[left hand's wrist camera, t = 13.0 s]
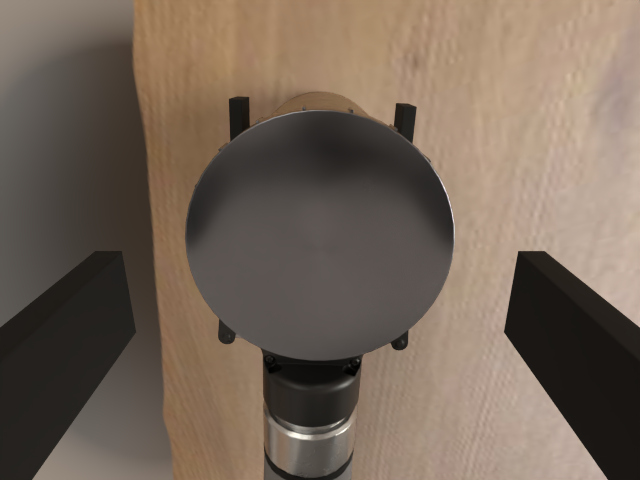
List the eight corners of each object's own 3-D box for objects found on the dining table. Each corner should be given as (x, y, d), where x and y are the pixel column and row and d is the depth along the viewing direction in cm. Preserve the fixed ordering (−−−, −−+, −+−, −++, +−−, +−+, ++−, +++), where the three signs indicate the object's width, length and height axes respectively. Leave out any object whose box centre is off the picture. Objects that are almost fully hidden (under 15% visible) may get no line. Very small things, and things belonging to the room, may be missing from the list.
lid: (146, 174, 17) (128, 185, 15) (388, 53, 15) (395, 51, 14) (267, 368, 20) (262, 394, 19) (476, 284, 19) (491, 305, 17)
